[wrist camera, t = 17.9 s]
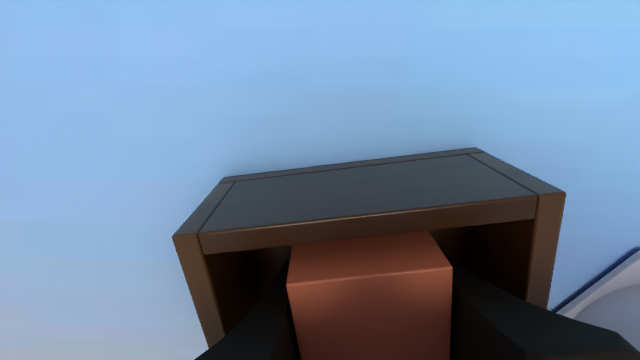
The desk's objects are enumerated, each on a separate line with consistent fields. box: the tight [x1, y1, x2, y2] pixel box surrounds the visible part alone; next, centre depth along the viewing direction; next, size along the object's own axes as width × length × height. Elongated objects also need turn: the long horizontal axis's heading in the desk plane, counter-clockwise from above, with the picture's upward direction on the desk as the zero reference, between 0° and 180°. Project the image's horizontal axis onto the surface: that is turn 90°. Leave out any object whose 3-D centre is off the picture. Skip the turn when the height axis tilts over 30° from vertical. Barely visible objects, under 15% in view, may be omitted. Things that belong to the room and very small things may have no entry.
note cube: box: [286, 231, 453, 360], centre depth 12 cm, size 5×5×5 cm
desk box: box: [172, 148, 566, 349], centre depth 13 cm, size 11×12×5 cm
